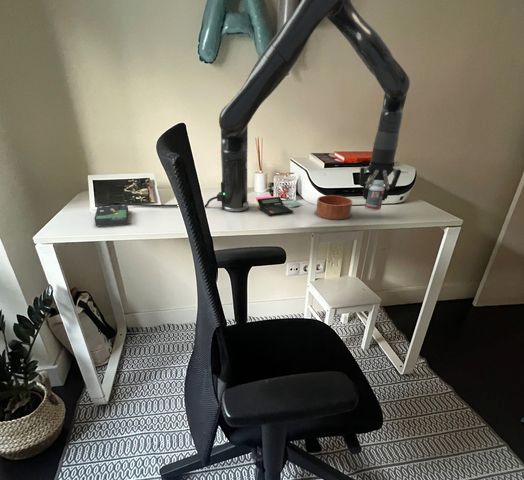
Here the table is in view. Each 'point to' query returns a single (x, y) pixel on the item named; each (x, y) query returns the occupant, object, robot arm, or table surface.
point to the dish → (334, 207)
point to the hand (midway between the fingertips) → (374, 199)
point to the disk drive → (111, 215)
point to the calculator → (273, 206)
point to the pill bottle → (375, 195)
